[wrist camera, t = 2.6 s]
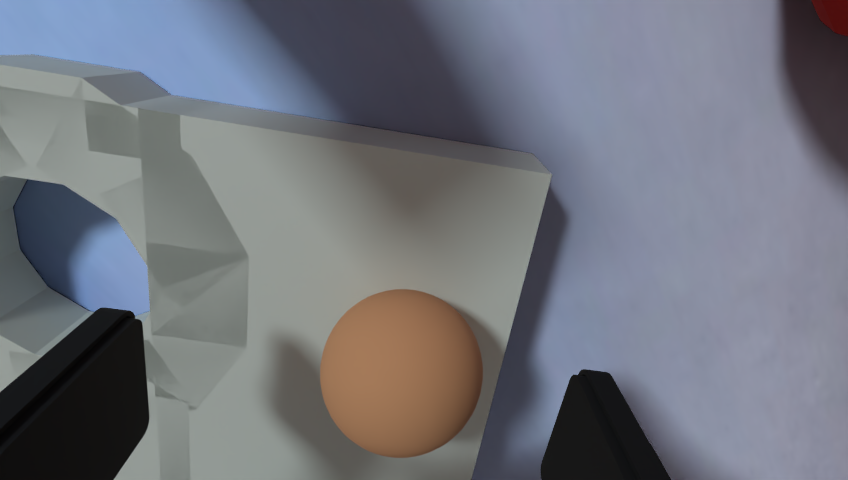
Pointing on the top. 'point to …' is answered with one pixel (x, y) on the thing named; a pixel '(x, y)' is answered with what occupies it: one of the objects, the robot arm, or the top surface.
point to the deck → (259, 259)
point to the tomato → (833, 14)
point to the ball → (401, 373)
